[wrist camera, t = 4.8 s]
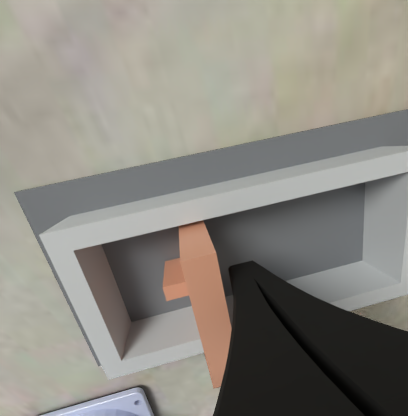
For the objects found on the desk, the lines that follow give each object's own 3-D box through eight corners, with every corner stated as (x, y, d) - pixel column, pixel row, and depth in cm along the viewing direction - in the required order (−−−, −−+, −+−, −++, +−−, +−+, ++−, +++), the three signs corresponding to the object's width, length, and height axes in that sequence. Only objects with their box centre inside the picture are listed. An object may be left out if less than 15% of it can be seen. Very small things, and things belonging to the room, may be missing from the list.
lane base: (392, 279, 15) (440, 307, 13) (100, 360, 14) (81, 412, 11) (408, 109, 12) (478, 96, 9) (19, 190, 10) (-37, 205, 8)
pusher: (217, 296, 13) (241, 380, 8) (178, 307, 13) (180, 398, 8) (198, 210, 11) (215, 252, 7) (153, 220, 11) (136, 272, 6)
